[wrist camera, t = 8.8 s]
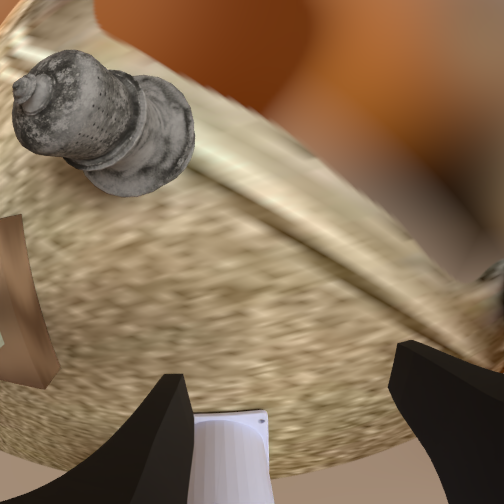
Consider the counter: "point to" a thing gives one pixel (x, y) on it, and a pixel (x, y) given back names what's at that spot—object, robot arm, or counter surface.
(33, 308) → the walnut block
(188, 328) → the counter surface
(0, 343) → the sage block
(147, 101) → the grey stone chess piece
